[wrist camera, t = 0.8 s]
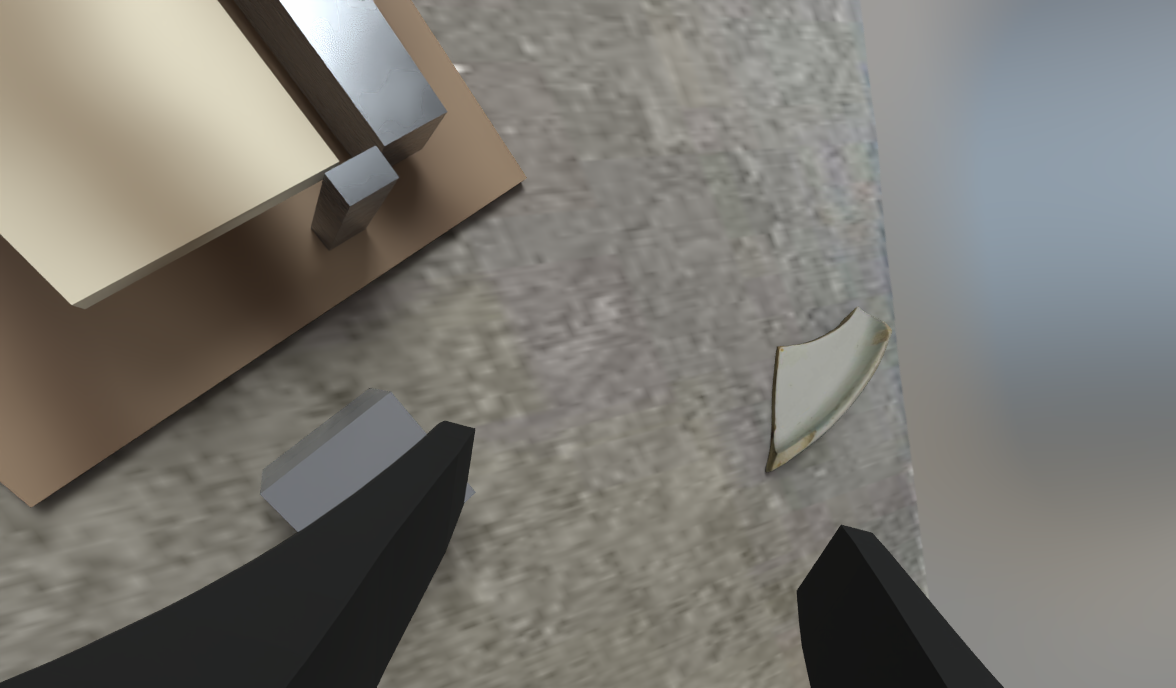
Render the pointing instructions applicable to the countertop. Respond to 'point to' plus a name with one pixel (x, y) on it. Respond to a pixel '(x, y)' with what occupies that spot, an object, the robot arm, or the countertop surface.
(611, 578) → the countertop surface
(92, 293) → the trapdoor
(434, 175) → the frame
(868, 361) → the ceramic fragment
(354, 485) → the grey cube
